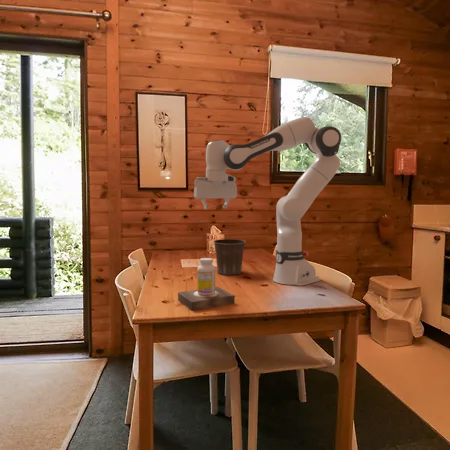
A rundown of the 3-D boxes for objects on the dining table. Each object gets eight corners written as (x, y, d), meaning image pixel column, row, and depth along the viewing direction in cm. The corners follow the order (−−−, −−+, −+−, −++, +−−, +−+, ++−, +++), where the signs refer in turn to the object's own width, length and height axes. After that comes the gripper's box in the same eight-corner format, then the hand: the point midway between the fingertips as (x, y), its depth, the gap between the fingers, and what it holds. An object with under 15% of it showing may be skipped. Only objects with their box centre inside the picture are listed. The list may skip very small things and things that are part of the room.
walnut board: (218, 294, 138) (218, 286, 138) (234, 303, 127) (234, 294, 126) (178, 300, 130) (178, 291, 130) (191, 310, 119) (191, 301, 118)
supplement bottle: (205, 289, 133) (205, 256, 132) (218, 292, 129) (219, 258, 128) (193, 293, 127) (193, 259, 126) (206, 296, 123) (207, 261, 122)
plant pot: (242, 277, 165) (243, 244, 164) (210, 275, 168) (210, 242, 167) (247, 270, 181) (247, 239, 180) (217, 268, 184) (217, 238, 183)
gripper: (197, 176, 145) (197, 209, 147) (238, 177, 155) (238, 208, 156) (191, 177, 151) (191, 209, 152) (231, 178, 161) (231, 208, 162)
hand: (215, 208), depth 154 cm, fingers open, 8 cm apart
